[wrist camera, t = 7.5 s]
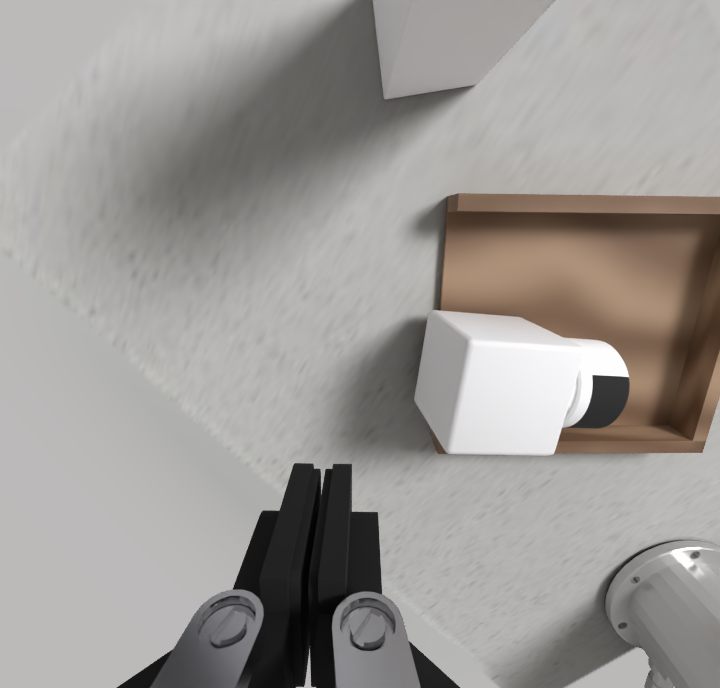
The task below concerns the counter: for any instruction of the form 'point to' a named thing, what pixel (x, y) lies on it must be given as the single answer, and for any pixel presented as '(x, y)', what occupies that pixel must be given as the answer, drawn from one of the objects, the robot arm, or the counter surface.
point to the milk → (446, 40)
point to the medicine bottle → (513, 384)
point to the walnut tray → (604, 297)
